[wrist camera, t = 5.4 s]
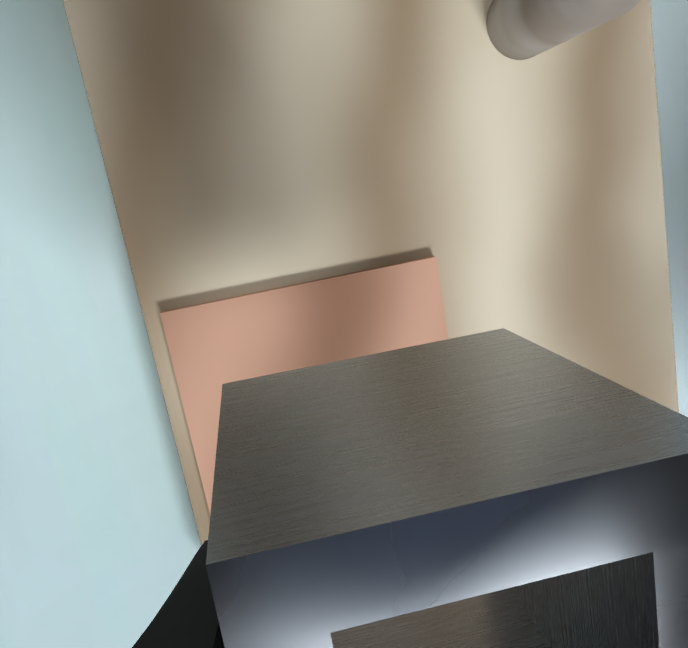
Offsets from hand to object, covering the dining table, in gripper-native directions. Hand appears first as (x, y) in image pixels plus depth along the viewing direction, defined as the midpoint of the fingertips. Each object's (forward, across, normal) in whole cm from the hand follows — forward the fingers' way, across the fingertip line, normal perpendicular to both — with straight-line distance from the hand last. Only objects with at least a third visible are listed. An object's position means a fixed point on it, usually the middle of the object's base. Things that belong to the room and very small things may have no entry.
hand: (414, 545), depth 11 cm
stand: (+10, -3, -4) cm, 12 cm away
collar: (+2, 0, 0) cm, 2 cm away
